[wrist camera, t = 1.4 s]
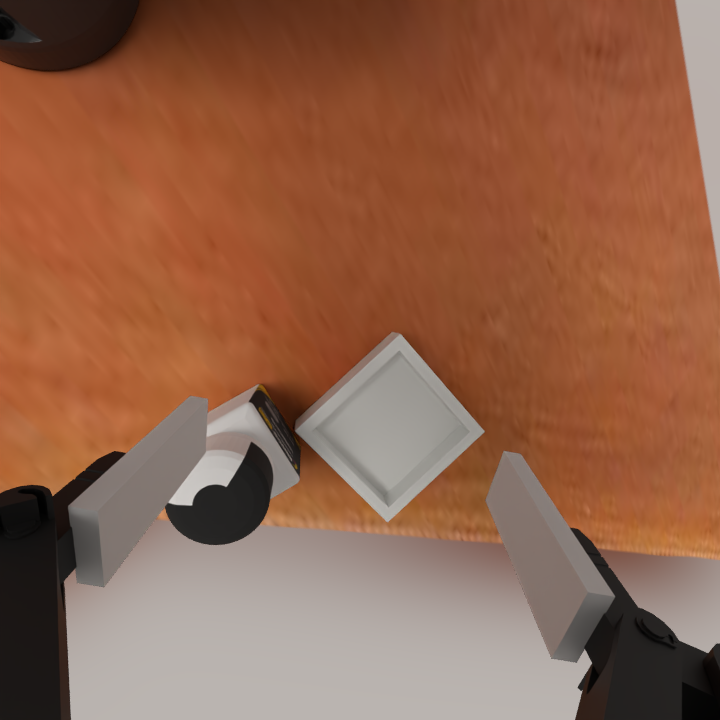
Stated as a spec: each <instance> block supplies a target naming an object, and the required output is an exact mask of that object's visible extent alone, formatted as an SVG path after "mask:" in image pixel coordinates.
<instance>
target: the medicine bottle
mask: <svg viewBox="0 0 720 720" xmlns="http://www.w3.org/2000/svg"><path fill="white" fill-rule="evenodd" d="M300 451H301V446H300V444H299V442H298V441H297V439H296V438H295V436H294V434H293V433H292V431H291V430H290V428H289V426H288V425H287V423H286V422H285V420H284V418H283V417H282V415H281V414H280V412H279V410H278V409H277V407H276V406H275V404H274V402H273V401H272V399H271V398H270V396H269V394H268V393H267V391H266V390H265V388H264V386H263V385H261V384H258V385H256V386H254V387H252V388H250V389H249V390H247V391H245V392H243V393H242V394H240V395H238V396H236V397H234V398H233V399H231V400H229V401H227V402H226V403H224V404H222V405H220V406H218V407H217V408H215V409H213V410H211V411H210V412H208V413H207V437H206V453H205V454H204V456H203V457H202V458H201V460H200V461H199V462H198V464H197V465H196V466H195V468H194V469H193V470H192V472H191V473H190V474H189V475H188V477H187V478H186V479H185V481H184V482H183V483H182V485H181V486H180V487H179V489H178V490H177V491H176V493H175V494H174V495H173V497H172V498H171V499H170V501H169V502H168V503H167V505H166V506H165V509H166V513H167V515H168V517H169V519H170V521H171V523H172V524H173V525H174V526H175V528H176V529H177V530H178V531H179V532H180V533H182V534H183V535H184V536H186V537H188V538H189V539H191V540H193V541H196V542H199V543H203V544H209V545H222V544H228V543H232V542H235V541H238V540H240V539H242V538H244V537H246V536H247V535H249V534H250V533H251V532H252V531H254V530H255V529H256V528H257V527H258V526H259V525H260V523H261V522H262V520H263V519H264V517H265V515H266V513H267V510H268V507H269V502H270V499H271V498H273V497H275V496H277V495H278V494H280V493H282V492H283V491H285V490H287V489H288V488H290V487H292V486H294V485H295V484H297V483H298V482H299V479H300Z"/></svg>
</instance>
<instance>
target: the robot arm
mask: <svg viewBox="0 0 720 720" xmlns="http://www.w3.org/2000/svg"><path fill="white" fill-rule="evenodd" d="M138 3H139V0H0V60H1V61H4V62H7V63H9V64H13V65H16V66H20V67H24V68H30V69H37V70H61V69H68V68H73V67H77V66H80V65H83V64H86V63H88V62H90V61H93V60H94V59H96V58H98V57H100V56H101V55H103V54H104V53H106V52H107V51H108V50H110V49H111V48H112V47H113V46H114V45H115V44H116V43H117V42H118V41H119V40H120V39H121V37H122V36H123V35H124V33H125V32H126V30H127V29H128V27H129V25H130V24H131V22H132V20H133V18H134V15H135V12H136V10H137V6H138ZM207 412H208V399H206V398H200V397H194V396H190V397H188V398H187V399H186V400H185V401H184V402H183V403H182V404H181V405H180V406H178V407H177V408H176V409H175V410H174V411H173V412H172V413H171V414H170V415H168V416H167V417H166V418H165V419H164V420H163V421H162V422H161V423H160V424H158V425H157V426H156V427H155V428H154V429H153V430H152V431H151V432H150V433H148V434H147V435H146V436H145V437H144V438H143V439H142V440H141V441H140V442H139V443H137V444H136V445H135V446H134V447H133V448H132V449H131V450H130V451H129V452H127V453H123V452H117V451H114V452H112V453H109V454H107V455H105V456H103V457H101V458H99V459H97V460H96V461H95V462H94V463H92V464H91V465H90V466H89V467H88V468H86V470H85V471H83V472H82V473H80V474H79V475H78V476H77V477H76V479H75V480H74V479H73V480H72V481H71V482H70V483H68V484H67V485H66V486H65V487H63V488H62V489H61V490H60V491H59V492H57V493H56V494H55V495H54V496H53V497H52V494H51V492H50V490H49V489H48V488H46V487H44V486H38V485H27V486H20V487H16V488H13V489H10V490H6V491H4V492H2V493H0V720H71V714H70V691H69V669H68V649H67V628H66V606H65V587H64V580H65V579H66V578H67V577H68V576H69V575H70V573H71V572H72V571H73V570H74V569H76V578H77V583H81V584H87V585H93V586H100V587H105V585H106V584H107V583H108V581H109V580H110V579H111V578H112V576H113V575H114V573H115V572H116V571H117V569H118V568H119V567H120V566H121V564H122V563H123V562H124V560H125V559H126V558H127V556H128V555H129V554H130V552H131V551H132V550H133V548H134V547H135V546H136V544H137V543H138V542H139V540H140V539H141V538H142V536H143V535H144V534H145V532H146V531H147V530H148V528H149V527H150V526H151V524H152V523H153V522H154V521H155V519H156V518H157V517H158V515H159V514H160V513H161V511H162V510H163V509H164V507H165V506H166V505H167V503H168V502H169V501H170V499H171V498H172V497H173V495H174V494H175V493H176V491H177V490H178V489H179V487H180V486H181V485H182V483H183V482H184V481H185V479H186V478H187V477H188V475H189V474H190V473H191V472H192V470H193V469H194V468H195V466H196V465H197V464H198V462H199V461H200V460H201V458H202V457H203V456H204V454H205V453H206V437H207ZM485 501H486V503H487V505H488V508H489V510H490V513H491V515H492V517H493V520H494V522H495V525H496V527H497V529H498V532H499V534H500V537H501V539H502V541H503V544H504V546H505V549H506V551H507V553H508V556H509V558H510V560H511V563H512V565H513V568H514V570H515V572H516V575H517V577H518V580H519V582H520V584H521V586H522V589H523V592H524V594H525V596H526V598H527V601H528V604H529V606H530V608H531V611H532V613H533V615H534V618H535V620H536V623H537V625H538V627H539V630H540V632H541V635H542V637H543V639H544V642H545V644H546V647H547V649H548V651H549V654H550V656H551V659H558V660H564V661H570V662H577V661H578V659H579V658H580V656H581V654H582V653H583V651H584V649H585V650H586V651H587V654H588V656H589V658H590V660H591V661H592V665H591V666H590V668H589V670H588V671H587V673H586V674H585V676H584V678H583V679H582V681H581V683H580V684H579V686H578V688H579V689H580V690H581V691H582V690H583V691H582V695H581V699H580V703H579V707H578V711H577V715H576V719H575V720H720V644H716V645H715V646H714V647H713V648H712V649H711V651H710V652H709V653H706V652H704V651H701V650H699V649H697V648H694V647H692V646H690V645H687V644H685V643H683V642H681V641H679V640H678V638H677V637H676V635H675V634H674V632H673V631H672V630H671V629H670V628H669V627H668V626H667V625H666V624H665V623H664V622H663V621H661V620H660V619H659V618H657V617H656V616H655V615H653V614H652V613H650V612H648V611H646V610H644V609H641V608H638V607H637V605H636V604H635V602H634V601H633V600H632V598H631V597H630V596H629V594H628V592H627V591H626V590H625V588H624V587H623V585H622V584H621V583H620V581H619V580H618V578H617V577H616V575H615V574H614V573H613V571H612V570H611V569H610V568H609V567H608V564H607V563H606V561H605V560H604V558H603V557H601V554H600V553H599V551H598V550H597V548H596V547H595V546H594V544H593V543H592V541H591V540H589V539H588V538H587V537H586V536H585V535H584V534H583V533H582V532H581V531H580V530H578V529H575V528H569V526H568V525H567V523H566V522H565V520H564V519H563V517H562V516H561V514H560V513H559V511H558V510H557V508H556V506H555V505H554V503H553V502H552V500H551V499H550V497H549V496H548V494H547V493H546V491H545V490H544V488H543V487H542V485H541V484H540V482H539V481H538V479H537V478H536V476H535V475H534V473H533V472H532V470H531V469H530V467H529V466H528V464H527V463H526V461H525V460H524V458H523V457H522V455H521V454H519V453H513V452H507V451H503V454H502V457H501V460H500V462H499V465H498V468H497V470H496V473H495V476H494V478H493V481H492V484H491V487H490V489H489V492H488V495H487V497H486V500H485Z"/></svg>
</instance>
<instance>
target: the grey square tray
mask: <svg viewBox="0 0 720 720" xmlns="http://www.w3.org/2000/svg"><path fill="white" fill-rule="evenodd" d="M295 432H296V433H297V434H298V435H299V436H300V437H301V438H302V439H303V440H304V441H305V442H306V443H307V444H309V445H310V446H311V447H312V448H313V449H314V450H315V451H316V452H317V453H318V454H319V455H320V456H321V457H322V458H323V459H324V460H325V461H326V462H327V463H328V464H329V465H330V466H331V467H332V468H333V469H334V470H335V471H336V472H337V473H338V474H339V475H340V476H341V477H342V478H343V479H344V480H345V481H346V482H347V483H348V484H349V485H350V486H351V487H352V488H353V489H354V490H355V491H356V492H357V493H358V494H359V495H360V496H361V497H362V498H363V499H364V500H365V501H366V502H367V503H368V504H369V505H370V506H371V507H372V508H373V509H374V510H375V511H376V512H377V513H378V514H380V515H381V516H382V517H383V518H384V519H385V520H386V521H387V522H388V521H390V520H391V519H392V518H393V517H394V516H395V515H396V514H397V513H398V512H399V511H400V510H401V509H402V508H403V507H405V506H406V505H407V504H408V503H409V502H410V501H411V500H412V499H413V498H414V497H415V496H416V495H417V494H419V493H420V492H421V491H422V490H423V489H424V488H425V487H426V486H427V485H428V484H429V483H430V482H431V481H432V480H434V479H435V478H436V477H437V476H438V475H439V474H440V473H441V472H442V471H443V470H444V469H445V468H446V467H448V466H449V465H450V464H451V463H452V462H453V461H454V460H455V459H456V458H457V457H458V456H459V455H460V454H461V453H463V452H464V451H465V450H466V449H467V448H468V447H469V446H470V445H471V444H472V443H473V442H474V441H475V440H477V439H478V438H479V437H480V436H481V435H482V434H483V433H484V432H485V431H484V430H483V429H482V428H481V427H480V426H479V424H478V423H477V422H476V421H475V420H474V419H473V417H472V416H471V415H470V414H469V413H468V412H467V410H466V409H465V408H464V407H463V406H462V405H461V403H460V402H459V401H458V400H457V399H456V398H455V396H454V395H453V394H452V393H451V392H450V391H449V390H448V388H447V387H446V386H445V385H444V384H443V383H442V381H441V380H440V379H439V378H438V377H437V376H436V374H435V373H434V372H433V371H432V370H431V369H430V367H429V366H428V365H427V364H426V363H425V362H424V361H423V359H422V358H421V357H420V356H419V355H418V354H417V352H416V351H415V350H414V349H413V348H412V347H411V345H410V344H409V343H408V342H407V341H406V340H405V338H404V337H403V336H402V335H401V334H399V333H395V332H391V333H390V334H389V335H388V336H387V337H386V338H385V339H384V340H383V341H382V342H380V343H379V344H378V345H377V346H376V347H375V348H374V349H373V350H372V351H371V352H370V353H368V354H367V355H366V356H365V357H364V358H363V359H362V360H361V361H360V362H359V363H358V364H356V365H355V366H354V367H353V368H352V369H351V370H350V371H349V372H348V373H347V374H346V375H344V376H343V377H342V378H341V379H340V380H339V381H338V382H337V383H336V384H335V385H334V386H332V387H331V388H330V389H329V390H328V391H327V392H326V393H325V394H324V395H323V396H322V397H320V398H319V399H318V400H317V401H316V402H315V403H314V404H313V405H312V406H311V407H310V408H308V409H307V410H306V411H305V412H304V413H303V414H302V415H301V416H300V417H299V418H298V419H296V422H295Z"/></svg>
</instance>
